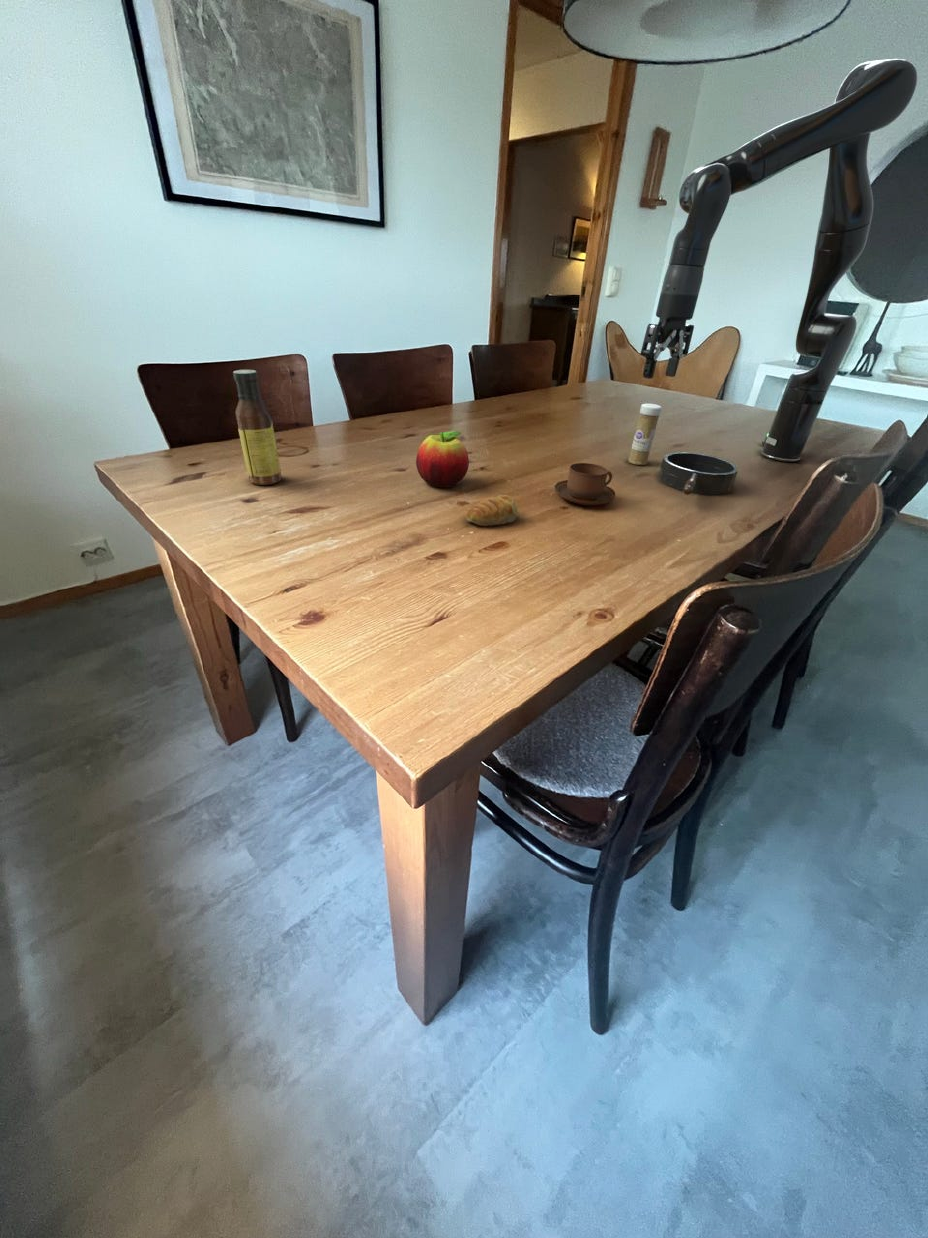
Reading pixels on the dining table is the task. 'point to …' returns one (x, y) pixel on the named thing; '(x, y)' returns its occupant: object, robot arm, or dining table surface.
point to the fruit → (442, 460)
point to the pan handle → (690, 484)
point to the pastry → (493, 511)
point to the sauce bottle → (256, 431)
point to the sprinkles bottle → (644, 433)
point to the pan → (698, 472)
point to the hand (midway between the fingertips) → (658, 377)
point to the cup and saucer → (586, 485)
